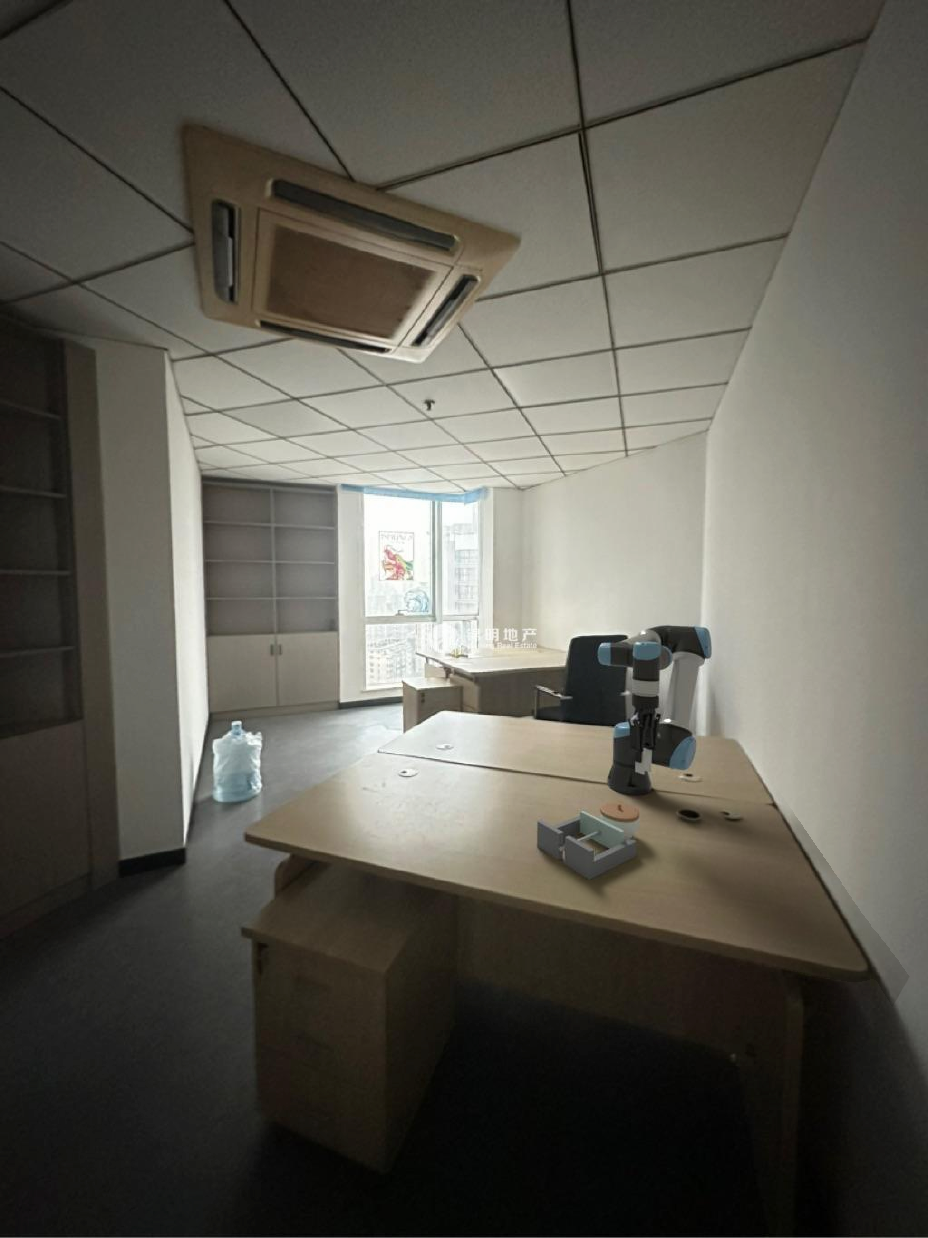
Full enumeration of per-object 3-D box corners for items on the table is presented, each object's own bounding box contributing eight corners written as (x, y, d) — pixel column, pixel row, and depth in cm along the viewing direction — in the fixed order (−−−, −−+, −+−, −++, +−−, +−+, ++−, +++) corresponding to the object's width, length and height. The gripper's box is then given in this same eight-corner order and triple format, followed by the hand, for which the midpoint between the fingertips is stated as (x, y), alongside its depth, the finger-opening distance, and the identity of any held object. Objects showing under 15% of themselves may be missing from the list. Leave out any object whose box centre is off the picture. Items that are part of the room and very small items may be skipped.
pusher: (582, 830, 132) (582, 810, 132) (623, 853, 121) (624, 831, 120) (540, 848, 123) (541, 826, 122) (581, 874, 111) (582, 850, 111)
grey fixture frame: (582, 827, 135) (583, 804, 135) (635, 856, 120) (636, 830, 120) (537, 846, 125) (537, 821, 124) (589, 879, 110) (589, 851, 109)
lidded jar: (641, 833, 132) (642, 801, 132) (634, 850, 123) (635, 816, 123) (604, 823, 138) (604, 793, 138) (595, 839, 129) (595, 806, 128)
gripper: (649, 689, 143) (647, 762, 144) (618, 694, 134) (616, 773, 135) (672, 693, 137) (669, 770, 138) (640, 699, 128) (638, 781, 129)
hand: (643, 771), depth 136 cm, fingers open, 3 cm apart
